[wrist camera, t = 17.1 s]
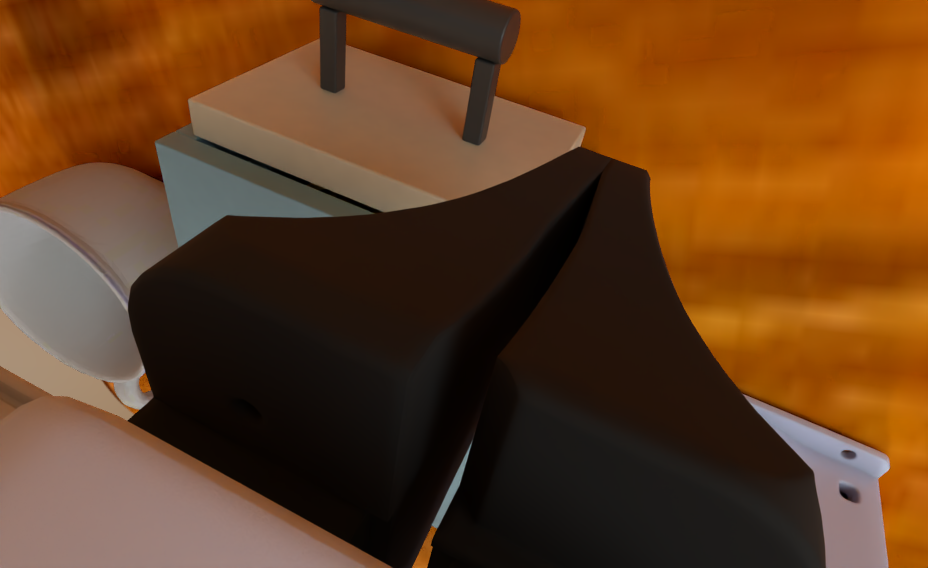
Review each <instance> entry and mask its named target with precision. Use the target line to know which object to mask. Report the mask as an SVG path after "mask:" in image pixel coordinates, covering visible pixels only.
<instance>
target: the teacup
mask: <svg viewBox="0 0 928 568" xmlns="http://www.w3.org/2000/svg"><path fill="white" fill-rule="evenodd" d="M176 249H178V244H177V240H176V235H175V231H174V226H173V222H172V217H171V213H170V208H169V204H168V199H167V195H166V190H165V186H164V183H163V182H161V181H159V180H157V179H154V178H152V177H150V176H148V175H146V174H144V173H142V172H140V171H137V170H135V169H133V168H129V167H126V166H123V165H119V164H114V163H100V162H97V163H87V164H82V165H77V166H74V167H71V168H68V169H65V170H62V171H59V172H57V173H54V174H52V175H50V176H47V177H45V178H42V179H40V180H38V181H36V182H33V183H31V184H29V185H27V186H24V187H22V188H20V189H18V190H16V191H14V192H12V193H10V194H8V195H6V196H4V197H2V198H0V308H1V309H2V311H3V312H4V313H5V314H6V315H7V316H8V317H9V319H10V320H11V321H12V322H13V323H14V324H15V325H16V326H17V327H18V328H19V329H20V330H21V331H22V332H23V333H25V334H26V335H27V336H28V337H29V338H30V339H31V340H32V341H34V342H35V343H36V344H38V345H39V346H40V347H41V348H42V349H44V350H45V351H46V352H48V353H49V354H51V355H52V356H54V357H55V358H56V359H58V360H59V361H61V362H62V363H64V364H66V365H68V366H70V367H72V368H74V369H76V370H77V371H79V372H81V373H84V374H87V375H89V376H92V377H94V378H96V379H101V380H104V381H107V382H114V389H115V392H116V394H117V396H118V398H119V399H120V400H121V401H122V402H123V403H124V404H125V405H127V406H129V407H131V408H134V409H139V410H140V409H141V408H142V407H143V406H145V405H146V404H147V403H148V402H149V401H150V400H151V399H152V398H153V397H154V396H153V393H152V390H151V391H148V392H146V393H143V392H142V391H141V390H140V387H139V378H140V377H141V376H142V375H143V374H144V373H145V369H144V366H143V363H142V360H141V357H140V354H139V351H138V348H137V345H136V342H135V339H134V336H133V333H132V329H131V324H130V319H129V314H128V300H129V295H130V289H131V285H132V284H133V283H134V282H135V281H136V280H137V278H138V277H139V276H140V275H141V274H142V273H143V272H144V271H146V270H147V269H149V268H150V267H152V266H153V265H155V264H156V263H157V262H159V261H160V260H162V259H163V258H165V257H166V256H168V255H169V254H170V253H172V252H173V251H175V250H176Z"/></svg>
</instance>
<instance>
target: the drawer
mask: <svg viewBox="0 0 928 568" xmlns="http://www.w3.org/2000/svg"><path fill="white" fill-rule="evenodd" d="M311 1H313V2H314V3H316V4H319V5H322V7H320V38H319V39H317V40H315V41H313V42H311V43H308V44H306V45H304V46H302V47H300V48H298V49H295V50H293V51H291V52H289V53H287V54H285V55H282V56H280V57H278V58H276V59H274V60H272V61H269V62H267V63H265V64H263V65H261V66H259V67H256V68H254V69H252V70H250V71H248V72H246V73H243V74H241V75H239V76H237V77H235V78H233V79H230V80H228V81H226V82H224V83H222V84H220V85H217V86H215V87H213V88H211V89H209V90H206V91H204V92H202V93H200V94H198V95H196V96H193V97H191V98H189V99H188V104H189V110H190V116H191V122H192V128H193V133H194V135H195V136H198V137H200V138H203V139H205V140H207V141H210V142H212V143H215V144H217V145H220V146H222V147H225V148H227V149H229V150H232V151H234V152H237V153H239V154H242V155H244V156H247V157H249V158H252V160H250V161H249V162H250V163H253V164H255V165H258V166H260V167H262V168H265V169H267V170H270V171H272V172H275V173H277V174H280V175H282V176H284V177H287V178H289V179H292V180H294V181H297V182H299V183H301V184H304V185H306V186H307V184H308V183H313V184H315V185H318V186H320V187H323V188H325V189H328V190H330V191H332V192H335V193H337V194H340V195H342V196H345V197H347V198H350V199H352V200H355V201H357V202H359V203H362V204H364V205H367V206H369V207H372V208H374V209H377V210H379V211H382V212H390V211H396V210H403V209H409V208H416V207H422V206H427V205H432V204H436V203H440V202H444V201H448V200H452V199H456V198H460V197H463V196H467V195H470V194H473V193H476V192H479V191H482V190H485V189H487V188H490V187H493V186H495V185H498V184H500V183H503V182H506V181H508V180H511V179H513V178H515V177H517V176H520V175H522V174H524V173H526V172H528V171H530V170H533V169H535V168H537V167H539V166H541V165H543V164H545V163H547V162H549V161H551V160H553V159H555V158H557V157H559V156H561V155H562V154H564V153H566V152H569V151H571V150H573V149H575V148H577V147H581V143H582V140H583V137H584V134H585V131H586V128H585V127H584V126H581V125H578V124H575V123H572V122H569V121H566V120H563V119H560V118H558V117H555V116H552V115H549V114H546V113H543V112H540V111H537V110H534V109H531V108H528V107H526V106H523V105H520V104H517V103H514V102H511V101H508V100H505V99H502V98H499V97H496V96H495V91H496V86H497V81H498V76H499V71H500V66H501V64H504V63H506V62H507V60H508V59H509V57H510V56H511V54H512V52H513V49H514V47H515V44H516V41H517V38H518V34H519V29H520V20H521V17H520V12H519V11H518V10H517V9H515V8H511V7H508V6H505V5H502V4H498V3H495V2H492V1H489V0H311ZM346 13H347V14H350V15H353V16H356V17H359V18H362V19H365V20H368V21H371V22H374V23H377V24H380V25H383V26H386V27H389V28H392V29H395V30H398V31H401V32H404V33H407V34H410V35H413V36H416V37H419V38H422V39H425V40H428V41H431V42H434V43H437V44H440V45H443V46H446V47H449V48H452V49H456V50H459V51H462V52H465V53H468V54H471V55H474V56H477V57H478V58H476V60H475V65H474V71H473V77H472V83H471V88H470V87H467V86H464V85H462V84H459V83H456V82H453V81H450V80H447V79H444V78H441V77H438V76H435V75H433V74H430V73H427V72H424V71H421V70H418V69H415V68H412V67H409V66H406V65H403V64H401V63H398V62H395V61H392V60H389V59H386V58H383V57H380V56H377V55H374V54H371V53H369V52H366V51H363V50H360V49H357V48H354V47H351V46H348V45H346Z"/></svg>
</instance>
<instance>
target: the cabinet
mask: <svg viewBox="0 0 928 568" xmlns="http://www.w3.org/2000/svg"><path fill="white" fill-rule="evenodd" d="M155 146H156V150H157V155H158V159H159V164H160V168H161V172H162V177H163V181H164V186H165V190H166V195H167V199H168V204H169V208H170V213H171V217H172V222H173V226H174V231H175V235H176V240H177V244H178V248H179V247H181V246H182V245H183V244H185V243H186V242H188V241H189V240H191V239H192V238H194V237H195V236H196V235H198V234H199V233H201V232H202V231H204V230H205V229H207V228H208V227H209V226H211V225H212V224H214V223H215V222H217V221H218V220H220V219H221V218H223V217H225V216H226V215H235V216H258V217H292V218H313V217H339V216H354V215H366V214H375V213H372V212H370V211H367V210H365V209H362V208H360V207H358V206H355V205H353V204H350V203H348V202H345V201H343V200H341V199H338V198H336V197H333V196H331V195H328V194H326V193H323V192H321V191H319V190H316V189H314V188H311V187H309V186H306V185H304V184H301V183H299V182H297V181H294V180H292V179H289V178H287V177H284V176H282V175H280V174H277V173H275V172H272V171H270V170H267V169H265V168H262V167H260V166H258V165H255V164H253V163H250V162H249V161H250V160H252V158H249V157H247V156H244V155H242V154H239V153H237V152H234V151H232V150H229V149H227V148H225V147H222V146H220V145H217V144H215V143H212V142H210V141H207V140H205V139H203V138H200V137H198V136H195V135H194V133H193V128H192V123H191V124H189V125H187V126H185V127H183V128H181V129H179V130H177V131H176V132H172V133H170V134H168V135H166V136H164V137H162V138H160V139H158V140H156V141H155ZM472 441H473V440H472ZM471 444H472V443H471ZM470 448H471V445H470V447H469V449H468V451H467V453H466V455H465V457H464V459H463V461H462V463H461V465H460V467H459V469H458V471H457V473H456V476H455V478H454V480H453V482H452V484H451V486H450V488H449V490H448V492H447V494H446V496H445V498H444V501H443V503H442V505H441V507H440V509H439V511H438V513H437V515H436V517H435V520H434V522H433V524H432V526H434V527H436V528H438V526H439V524H440V522H441V521H442V519H443V517H444V515H445V513H446V511H447V509H448V507H449V505H450V503H451V501H452V499H453V497H454V495H455V493H456V491H457V489H458V487H459V485H460V482H461V478H462V475H463V471H464V468H465V465H466V461H467V458H468V454H469V451H470Z"/></svg>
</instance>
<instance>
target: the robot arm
mask: <svg viewBox="0 0 928 568" xmlns="http://www.w3.org/2000/svg"><path fill="white" fill-rule="evenodd" d="M128 314H129V319H130V324H131V329H132V333H133V336H134V339H135V342H136V345H137V348H138V351H139V354H140V357H141V360H142V363H143V366H144V369H145V372H146V375H147V378H148V381H149V384H150V387H151V390H152V393H153V396H154V397H153V398H152V399H151V400H150V401H149V402H148V403H147V404H146V405H145V406H143V407H142V408H141V409H140V410H139V411H138V412H137V413H136V414H135V415H133V416H132V417H131V418H130V419H129V420H128V421H126V420H124V419H123V418H121V417H119V416H117V415H114V414H112V413H109V412H106V411H104V410H101V409H99V408H96V407H93V406H91V405H87V404H86V403H83V402H80V401H77V400H75V399H73V398H70V397H60V396H52V395H51V394H49V393H47V392H45V391H43V390H42V389H40V388H38V387H36V386H34V385H33V384H31V383H29V382H27V381H25V380H24V379H22V378H20V377H18V376H17V375H15V374H13V373H11V372H10V371H8V370H6V369H4V368H2V367H1V366H0V568H412V566H413V564H414V562H415V560H416V558H417V556H418V553H419V551H420V549H421V547H422V545H423V543H424V541H425V538H426V536H427V534H428V532H429V530H430V528H431V526H432V524H433V522H434V520H435V517H436V515H437V513H438V511H439V509H440V507H441V505H442V503H443V501H444V498H445V496H446V494H447V492H448V490H449V488H450V486H451V484H452V482H453V480H454V478H455V476H456V473H457V471H458V469H459V467H460V465H461V463H462V461H463V459H464V457H465V455H466V453H467V451H468V449H469V447H470V445H471V448H470V451H469V454H468V458H467V461H466V465H465V468H464V471H463V475H462V478H461V482H460V485H459V487H458V489H457V491H456V493H455V495H454V497H453V499H452V501H451V503H450V505H449V507H448V509H447V511H446V513H445V515H444V517H443V519H442V521H441V522H440V524H439V526H438V528H437V530H436V532H435V535H434V537H433V539H432V543H431V546H432V547H433V549H432V552H431V556H430V560H429V563H428V567H427V568H889V567H888V559H887V550H886V542H885V534H884V525H883V517H882V509H881V500H880V492H879V483H878V478H879V477H881V476H882V475H883V474H884V473H886V472H887V471H888V470H889V468H890V463H889V458H888V457H887V455H886V454H884V453H882V452H880V451H878V450H875V449H873V448H871V447H868V446H866V445H863V444H861V443H859V442H856V441H854V440H852V439H849V438H847V437H844V436H842V435H840V434H837V433H835V432H832V431H830V430H828V429H825V428H823V427H821V426H818V425H816V424H813V423H811V422H809V421H806V420H804V419H802V418H799V417H797V416H794V415H792V414H790V413H787V412H785V411H783V410H780V409H778V408H775V407H773V406H771V405H768V404H766V403H763V402H761V401H759V400H756V399H754V398H752V397H749V396H747V395H744V394H742V393H741V391H740V390H739V389H738V388H737V387H736V385H735V384H734V383H733V382H732V380H731V379H730V378H729V377H728V375H727V374H726V373H725V371H724V370H723V369H722V367H721V366H720V364H719V363H718V362H717V360H716V359H715V358H714V356H713V355H712V353H711V352H710V350H709V349H708V347H707V346H706V344H705V343H704V341H703V339H702V338H701V336H700V335H699V333H698V332H697V330H696V328H695V327H694V325H693V324H692V322H691V320H690V318H689V317H688V315H687V313H686V311H685V310H684V308H683V305H682V303H681V301H680V299H679V297H678V295H677V293H676V290H675V288H674V286H673V283H672V281H671V278H670V275H669V273H668V270H667V267H666V264H665V261H664V258H663V255H662V252H661V248H660V245H659V241H658V237H657V233H656V228H655V224H654V220H653V214H652V208H651V200H650V177H649V174H648V172H647V170H644V169H641V168H638V167H635V166H632V165H630V164H627V163H624V162H621V161H618V160H615V159H612V158H610V157H607V156H604V155H601V154H598V153H595V152H593V151H590V150H587V149H584V148H581V147H577V148H575V149H573V150H571V151H569V152H566V153H564V154H562V155H561V156H559V157H557V158H555V159H553V160H551V161H549V162H547V163H545V164H543V165H541V166H539V167H537V168H535V169H533V170H530V171H528V172H526V173H524V174H522V175H520V176H517V177H515V178H513V179H511V180H508V181H506V182H503V183H500V184H498V185H495V186H493V187H490V188H487V189H485V190H482V191H479V192H476V193H473V194H470V195H467V196H463V197H460V198H456V199H452V200H448V201H444V202H440V203H436V204H432V205H427V206H422V207H416V208H409V209H403V210H396V211H390V212H383V213H376V214H366V215H354V216H339V217H313V218H292V217H258V216H235V215H226V216H225V217H223V218H221V219H220V220H218V221H217V222H215V223H214V224H212V225H211V226H209V227H208V228H207V229H205V230H204V231H202V232H201V233H199V234H198V235H196V236H195V237H194V238H192V239H191V240H189V241H188V242H186V243H185V244H183V245H182V246H181V247H179V248H178V249H176V250H175V251H173V252H172V253H170V254H169V255H168V256H166V257H165V258H163V259H162V260H160V261H159V262H157V263H156V264H155V265H153V266H152V267H150V268H149V269H147V270H146V271H144V272H143V273H142V274H141V275H140V276H139V277H138V278H137V280H136V281H135V282H134V283H133V284H132V285H131V289H130V295H129V300H128ZM472 440H473V441H472ZM471 443H472V444H471ZM844 450H850V451H848V452H847V451H844Z"/></svg>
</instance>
